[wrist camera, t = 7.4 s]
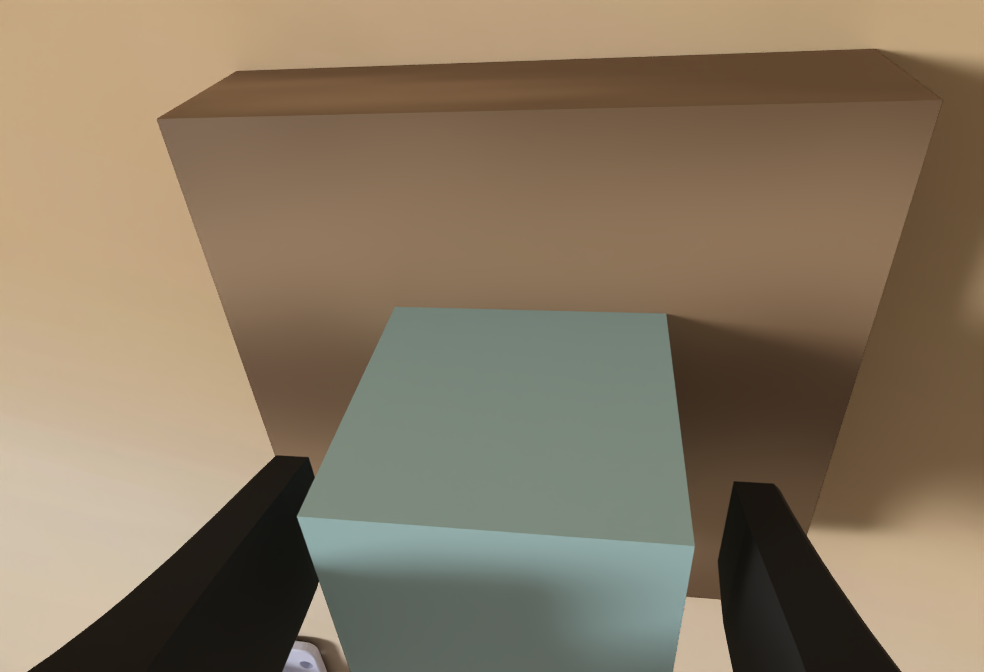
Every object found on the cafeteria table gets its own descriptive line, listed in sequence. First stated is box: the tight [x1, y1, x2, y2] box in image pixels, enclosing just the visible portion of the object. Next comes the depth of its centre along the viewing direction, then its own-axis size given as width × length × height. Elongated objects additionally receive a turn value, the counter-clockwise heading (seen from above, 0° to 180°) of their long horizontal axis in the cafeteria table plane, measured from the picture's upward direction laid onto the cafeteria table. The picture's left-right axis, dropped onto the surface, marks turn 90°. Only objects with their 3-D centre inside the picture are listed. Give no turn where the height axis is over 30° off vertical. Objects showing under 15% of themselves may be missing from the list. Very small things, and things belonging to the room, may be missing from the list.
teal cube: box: [297, 307, 695, 672], centre depth 12 cm, size 5×5×5 cm
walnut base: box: [157, 49, 943, 599], centre depth 15 cm, size 12×12×3 cm
